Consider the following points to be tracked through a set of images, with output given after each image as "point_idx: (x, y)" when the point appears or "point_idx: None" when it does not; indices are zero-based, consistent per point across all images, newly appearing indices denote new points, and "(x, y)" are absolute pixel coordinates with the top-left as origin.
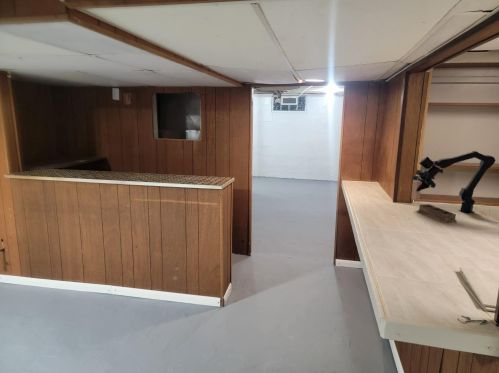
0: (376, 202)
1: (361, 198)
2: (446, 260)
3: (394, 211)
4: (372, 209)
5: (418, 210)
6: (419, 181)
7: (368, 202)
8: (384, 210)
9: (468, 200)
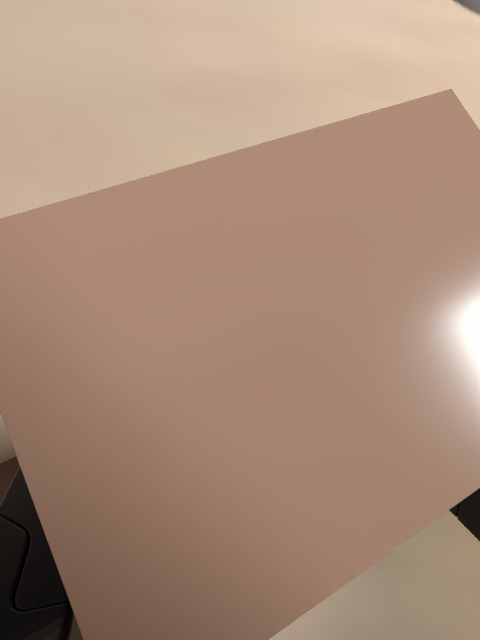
0: (357, 100)
1: (448, 19)
2: None
3: (28, 191)
4: (68, 15)
5: None
6: (130, 502)
7: (330, 39)
8: (52, 106)
9: None
